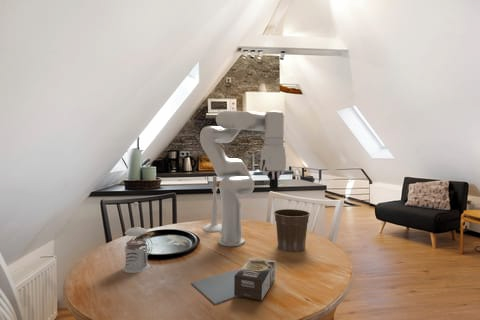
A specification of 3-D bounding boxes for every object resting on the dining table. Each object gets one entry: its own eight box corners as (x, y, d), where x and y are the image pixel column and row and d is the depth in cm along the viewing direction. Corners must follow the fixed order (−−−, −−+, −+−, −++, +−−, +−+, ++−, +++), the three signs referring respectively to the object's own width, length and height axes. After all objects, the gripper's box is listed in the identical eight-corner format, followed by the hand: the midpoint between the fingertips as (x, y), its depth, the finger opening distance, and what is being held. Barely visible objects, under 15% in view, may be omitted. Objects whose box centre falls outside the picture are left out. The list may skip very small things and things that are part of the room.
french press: (135, 260, 118) (134, 199, 116) (159, 265, 113) (158, 201, 112) (116, 270, 108) (115, 203, 107) (142, 275, 104) (141, 205, 103)
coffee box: (275, 260, 101) (262, 280, 86) (275, 278, 101) (262, 301, 86) (250, 256, 104) (233, 275, 89) (250, 274, 104) (233, 295, 89)
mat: (191, 283, 98) (191, 282, 98) (237, 270, 109) (237, 269, 109) (214, 304, 85) (214, 303, 85) (264, 287, 95) (264, 286, 95)
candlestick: (225, 232, 158) (225, 176, 156) (202, 232, 157) (201, 176, 156) (226, 225, 170) (226, 174, 169) (204, 225, 170) (204, 174, 169)
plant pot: (279, 239, 145) (280, 207, 144) (312, 244, 138) (313, 210, 137) (268, 250, 130) (268, 214, 129) (304, 256, 123) (305, 218, 122)
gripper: (281, 143, 124) (281, 186, 124) (253, 142, 115) (253, 189, 116) (294, 142, 117) (293, 188, 118) (265, 142, 109) (265, 191, 110)
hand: (273, 188), depth 117 cm, fingers closed
